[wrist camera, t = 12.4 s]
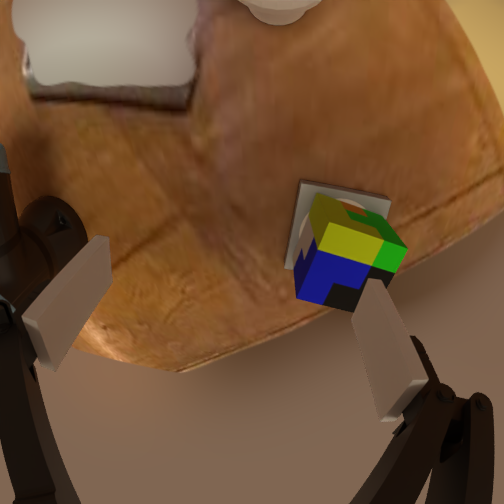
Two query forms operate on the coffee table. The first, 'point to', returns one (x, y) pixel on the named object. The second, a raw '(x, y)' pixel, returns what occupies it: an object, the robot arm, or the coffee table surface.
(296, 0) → the cup
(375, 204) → the plinth
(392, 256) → the puzzle toy
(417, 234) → the coffee table surface
